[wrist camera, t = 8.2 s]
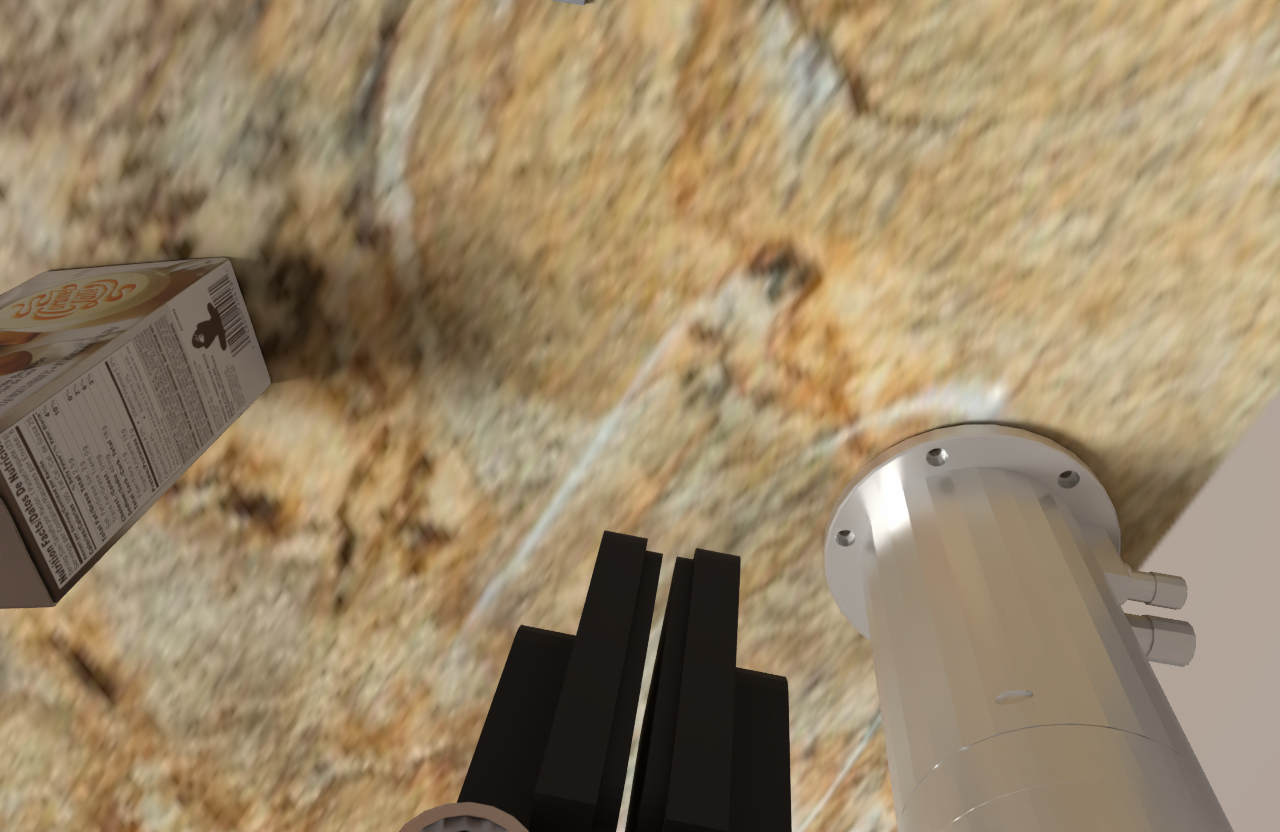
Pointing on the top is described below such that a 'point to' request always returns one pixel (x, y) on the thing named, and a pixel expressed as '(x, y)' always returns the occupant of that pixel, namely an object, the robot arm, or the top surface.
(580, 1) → the slate mat
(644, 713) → the robot arm
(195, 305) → the coffee box
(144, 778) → the top surface
